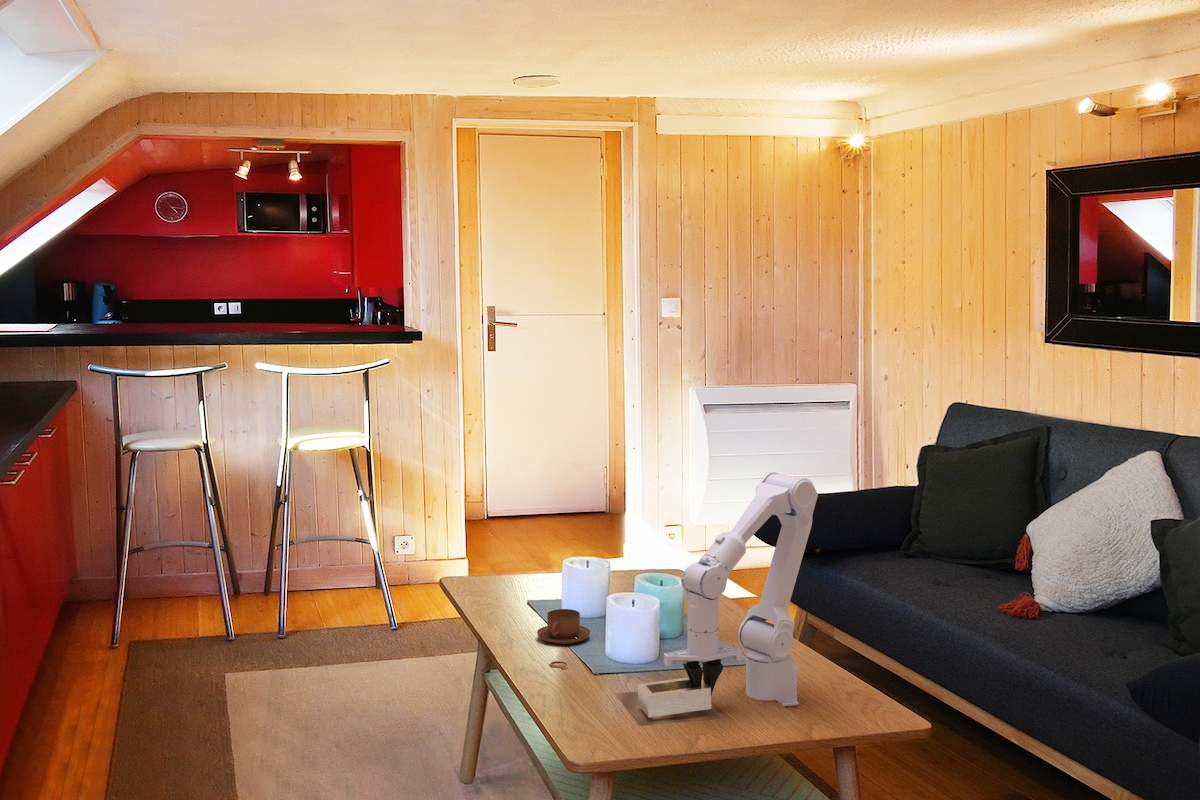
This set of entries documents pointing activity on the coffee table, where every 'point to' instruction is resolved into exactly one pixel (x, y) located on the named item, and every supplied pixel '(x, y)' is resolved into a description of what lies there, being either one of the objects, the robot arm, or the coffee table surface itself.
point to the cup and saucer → (563, 627)
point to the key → (559, 665)
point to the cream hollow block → (673, 697)
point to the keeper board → (642, 719)
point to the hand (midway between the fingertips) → (702, 700)
